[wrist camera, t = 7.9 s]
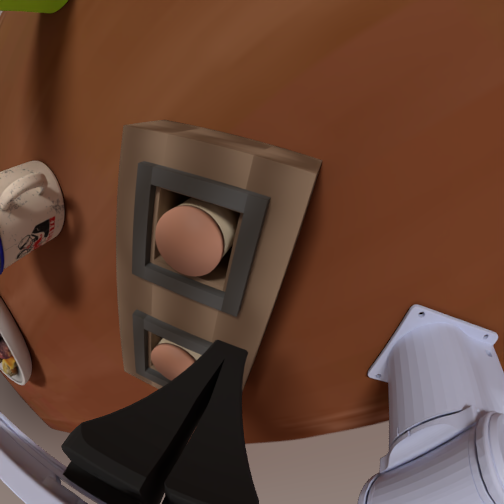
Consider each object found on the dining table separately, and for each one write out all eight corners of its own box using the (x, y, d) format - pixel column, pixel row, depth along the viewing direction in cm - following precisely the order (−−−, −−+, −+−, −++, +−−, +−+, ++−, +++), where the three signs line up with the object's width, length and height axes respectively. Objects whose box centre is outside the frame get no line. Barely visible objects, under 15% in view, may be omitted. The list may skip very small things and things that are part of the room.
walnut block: (322, 160, 18) (315, 176, 13) (244, 384, 28) (228, 424, 24) (164, 119, 19) (117, 126, 15) (147, 342, 30) (121, 375, 25)
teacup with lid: (44, 250, 29) (-30, 301, 19) (13, 183, 27) (-65, 220, 17) (96, 207, 24) (-10, 268, 14) (57, 123, 22) (-52, 153, 12)
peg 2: (224, 320, 25) (200, 361, 21) (217, 352, 27) (195, 391, 23) (180, 302, 26) (150, 339, 21) (177, 335, 28) (150, 371, 23)
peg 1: (254, 195, 20) (228, 221, 15) (241, 249, 22) (214, 286, 17) (197, 178, 20) (158, 198, 16) (189, 231, 22) (153, 261, 18)
